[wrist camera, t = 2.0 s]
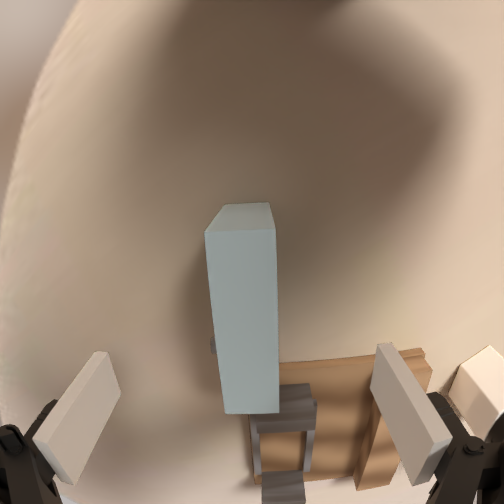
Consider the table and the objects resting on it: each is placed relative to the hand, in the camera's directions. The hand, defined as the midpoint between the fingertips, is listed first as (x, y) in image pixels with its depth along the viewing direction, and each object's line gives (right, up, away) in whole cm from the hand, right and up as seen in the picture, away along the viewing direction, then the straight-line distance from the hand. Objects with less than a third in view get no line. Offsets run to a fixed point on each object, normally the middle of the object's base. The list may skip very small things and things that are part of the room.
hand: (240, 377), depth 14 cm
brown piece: (+9, -14, +18) cm, 24 cm away
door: (0, +4, +13) cm, 13 cm away
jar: (+28, -9, +16) cm, 34 cm away
